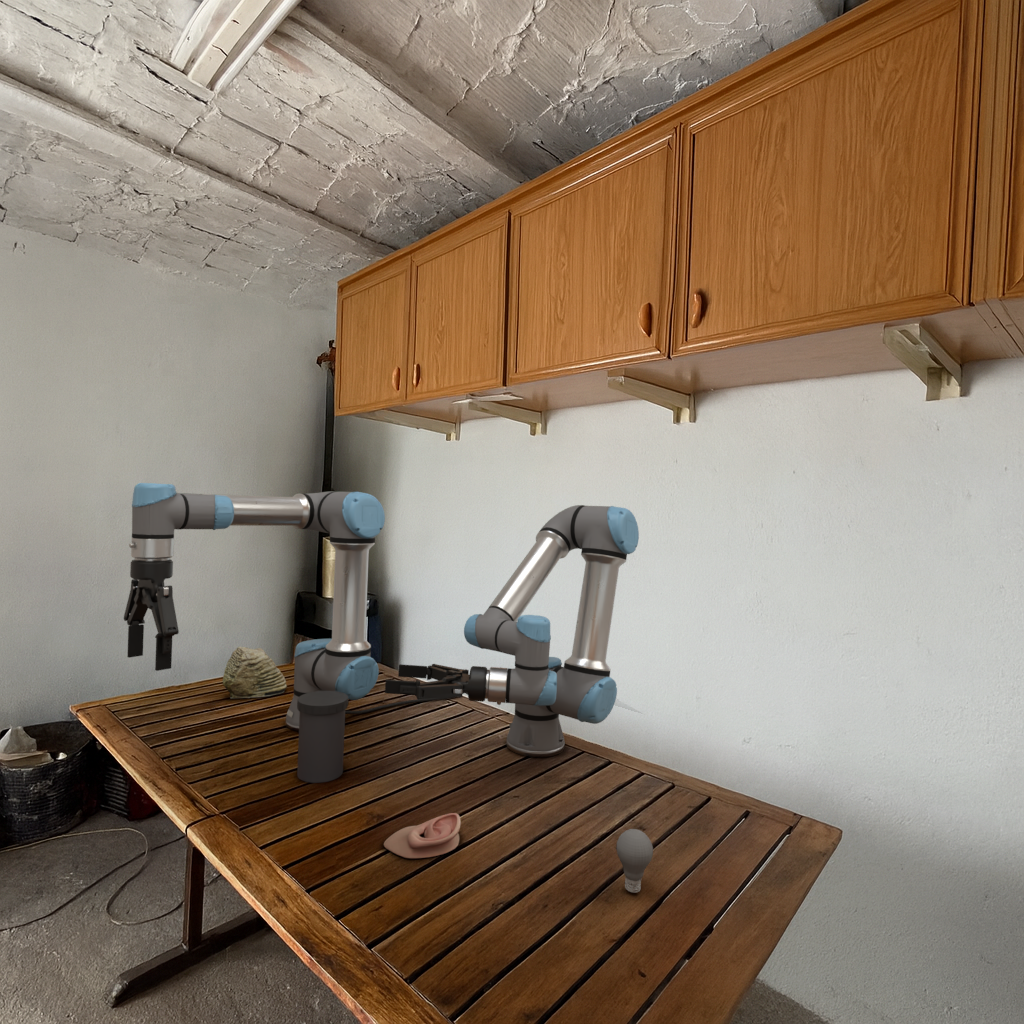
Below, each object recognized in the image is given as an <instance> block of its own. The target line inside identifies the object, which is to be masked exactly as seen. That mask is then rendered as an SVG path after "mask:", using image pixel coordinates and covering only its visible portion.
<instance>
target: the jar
mask: <svg viewBox="0 0 1024 1024" xmlns="http://www.w3.org/2000/svg"><path fill="white" fill-rule="evenodd" d="M345 711H346V709H345V710H343V711H341V712H338V713H334V714H328V715H310V714H305V713H302V712H300V715H299V731H298V743H297V745H298V747H297V768H296V770H297V771H296V775H297V776H296V777H297V778H298V779H299V780H300V781H302V782H305V783H309V784H310V783H311V784H321V783H327V782H332V781H334V780H337V779H338V778H340V777H341V776H342V775H343V773H344V752H345V751H344V750H345V730H346V729H345V728H346V727H345V726H346V714H345Z"/></svg>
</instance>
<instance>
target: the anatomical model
mask: <svg viewBox="0 0 1024 1024" xmlns="http://www.w3.org/2000/svg"><path fill="white" fill-rule="evenodd" d="M461 820H462V819H461V816H460V815H459V813H456V812H450V813H446V814H443V815H439V816H437V817H434V818H431V819H428V820H427V821H425V822H423V823H420V824H418V825H409V826H406V827H403V828H400V829H399V830H397V831H395V832H394V833H393V834H391V835H390V836H388V838H386V839H385V841H384V842H383V847H384V848H385V849H386V850H388V851H389V852H391V853H393V854H395V855H396V856H400V857H402V858H405V859H425V858H432V857H436V856H440V855H441V856H442V855H444V854H447V853H449V852H451V851H453V850H456V848H457V847H458V845H459V843H460V834H459V832H460V829H461V826H462V825H461V824H462V822H461Z"/></svg>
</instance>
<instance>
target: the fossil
mask: <svg viewBox="0 0 1024 1024" xmlns="http://www.w3.org/2000/svg"><path fill="white" fill-rule="evenodd" d="M222 676H223V677H222V685H223V687H224V688H225V690H226V691H228V693H229V698H230V699H250V698H264V697H271V696H275V695H281V694H284V693H285V691H286V689H287V687H288V686H287V680H286V678H285V676H284V674H283V673H282V672H281V669H279V668H278V667H277V665H276V663H275V662H274V660H273V659H272V658H271V657H270V656H269V655H268V654H267V653H266V652H265V650H264V649H263V648H260V647H258V648H251V647H247V646H246V647H245V646H238V647H237V648H236V649H235V650H233V651H232V653H231V656H230V657H229V659H228V660H227V663H226V666H225V668H224V671H223V675H222Z"/></svg>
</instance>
